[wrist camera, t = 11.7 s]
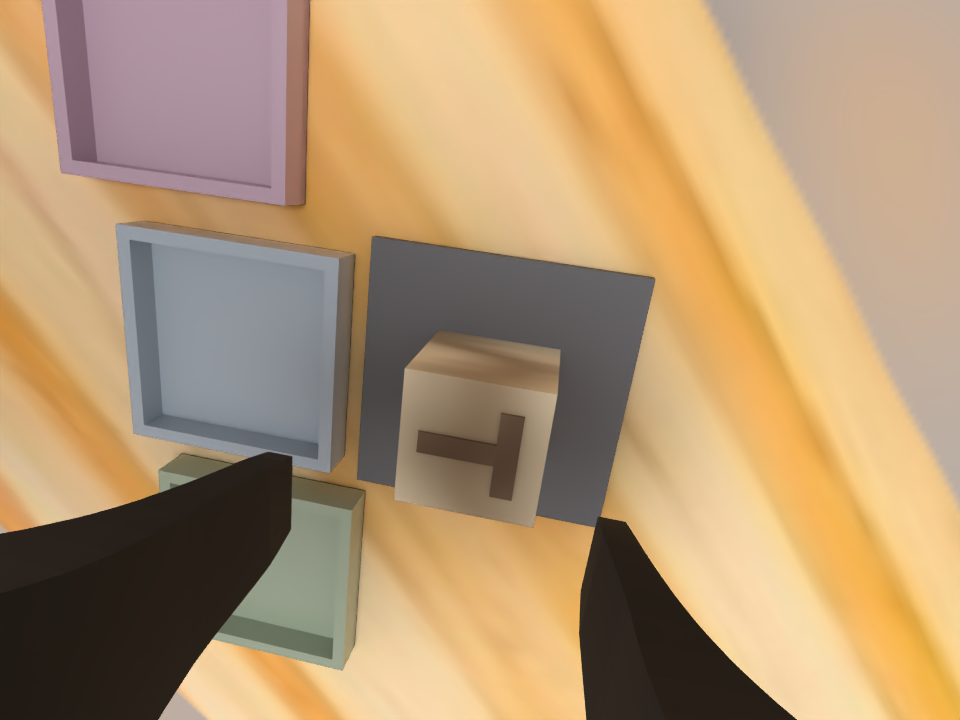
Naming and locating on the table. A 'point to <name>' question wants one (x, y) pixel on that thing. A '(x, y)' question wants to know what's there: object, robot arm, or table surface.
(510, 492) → the letter cube
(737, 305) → the table surface
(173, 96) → the tray near
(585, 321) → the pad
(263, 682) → the table surface
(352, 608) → the tray far
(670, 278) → the table surface
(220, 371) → the tray mid
